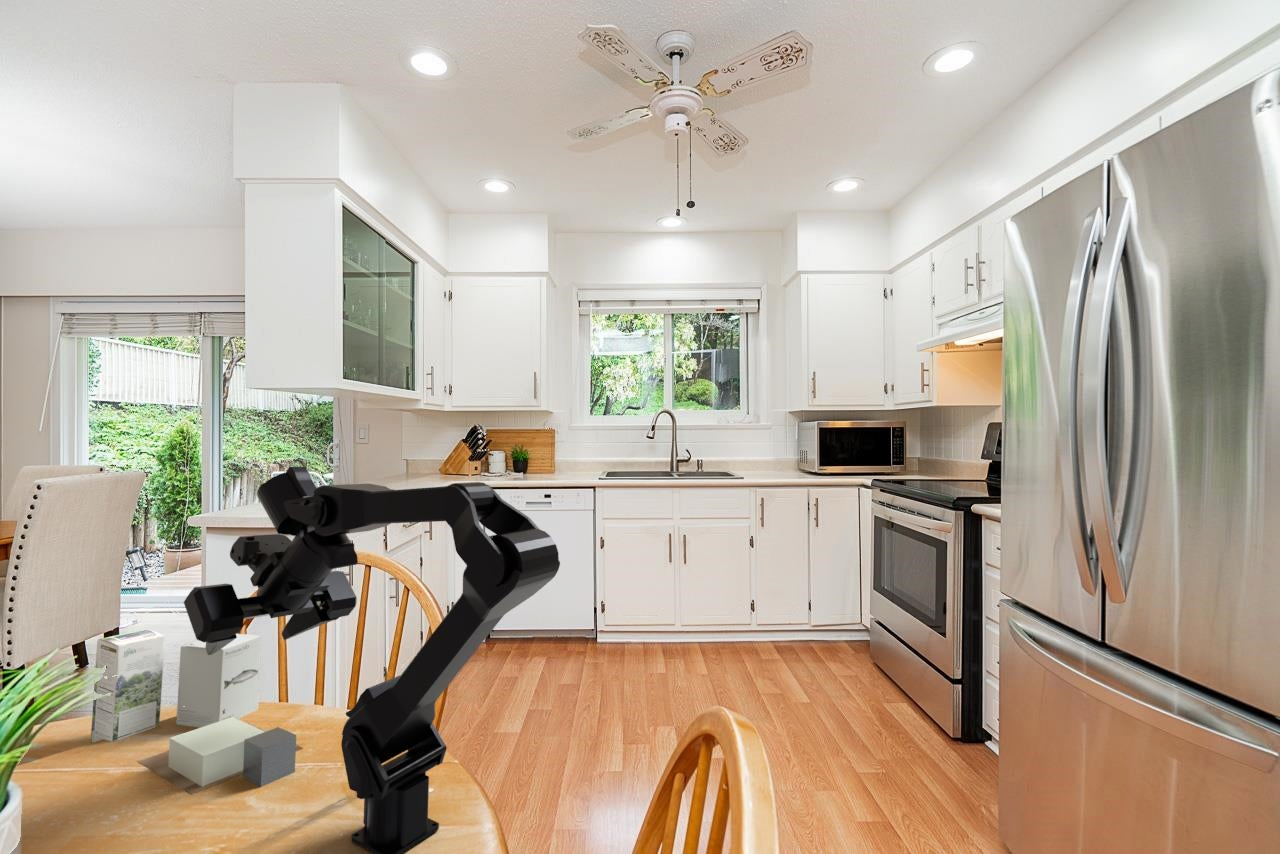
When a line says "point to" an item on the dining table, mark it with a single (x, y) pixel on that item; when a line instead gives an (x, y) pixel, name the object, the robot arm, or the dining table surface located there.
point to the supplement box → (218, 681)
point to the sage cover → (211, 750)
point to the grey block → (269, 756)
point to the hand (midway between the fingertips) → (248, 643)
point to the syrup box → (128, 685)
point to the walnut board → (161, 767)
